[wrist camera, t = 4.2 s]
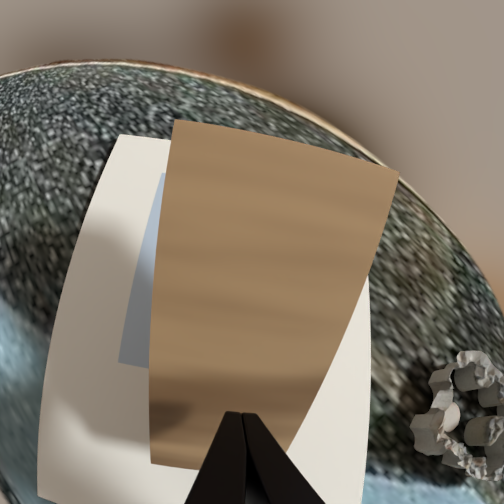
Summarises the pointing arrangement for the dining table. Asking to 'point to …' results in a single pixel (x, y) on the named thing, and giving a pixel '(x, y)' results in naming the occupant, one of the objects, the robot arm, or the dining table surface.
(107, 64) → the dining table surface
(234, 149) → the oak block
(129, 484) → the mat
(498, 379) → the egg carton
